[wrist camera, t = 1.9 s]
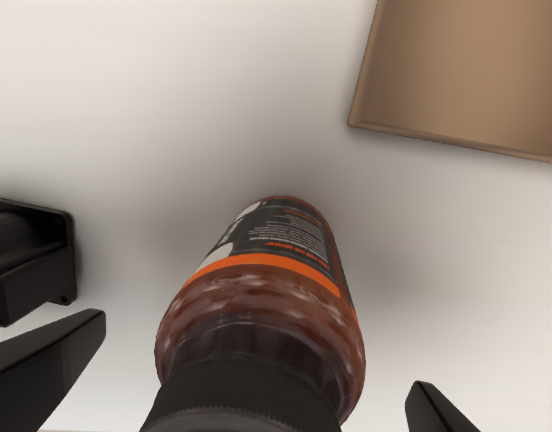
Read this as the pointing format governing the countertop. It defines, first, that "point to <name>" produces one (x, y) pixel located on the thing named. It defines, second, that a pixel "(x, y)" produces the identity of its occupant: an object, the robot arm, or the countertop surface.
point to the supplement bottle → (262, 332)
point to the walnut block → (460, 74)
